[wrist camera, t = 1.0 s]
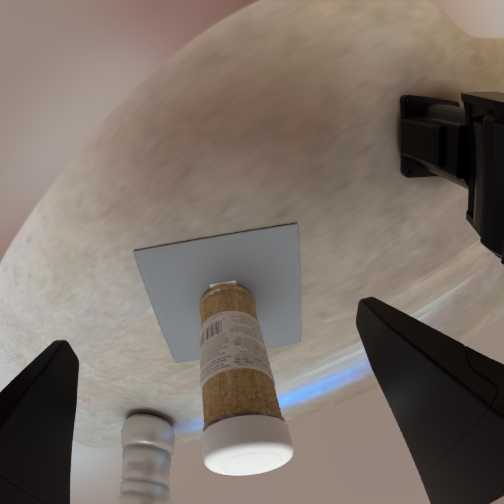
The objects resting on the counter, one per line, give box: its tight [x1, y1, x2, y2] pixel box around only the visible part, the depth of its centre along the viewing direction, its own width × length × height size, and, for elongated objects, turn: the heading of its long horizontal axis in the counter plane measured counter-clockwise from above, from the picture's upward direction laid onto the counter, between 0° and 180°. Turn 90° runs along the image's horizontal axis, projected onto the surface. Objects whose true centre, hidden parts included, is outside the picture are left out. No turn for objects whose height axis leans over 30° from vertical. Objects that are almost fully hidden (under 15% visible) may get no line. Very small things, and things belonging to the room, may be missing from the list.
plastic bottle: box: [117, 414, 175, 504], centre depth 22 cm, size 6×7×20 cm
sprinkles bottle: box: [199, 285, 294, 475], centre depth 18 cm, size 5×5×13 cm
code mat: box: [133, 223, 301, 363], centre depth 24 cm, size 12×12×1 cm
